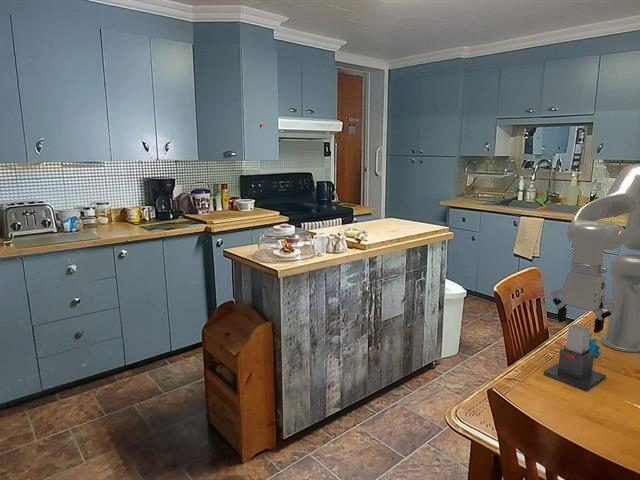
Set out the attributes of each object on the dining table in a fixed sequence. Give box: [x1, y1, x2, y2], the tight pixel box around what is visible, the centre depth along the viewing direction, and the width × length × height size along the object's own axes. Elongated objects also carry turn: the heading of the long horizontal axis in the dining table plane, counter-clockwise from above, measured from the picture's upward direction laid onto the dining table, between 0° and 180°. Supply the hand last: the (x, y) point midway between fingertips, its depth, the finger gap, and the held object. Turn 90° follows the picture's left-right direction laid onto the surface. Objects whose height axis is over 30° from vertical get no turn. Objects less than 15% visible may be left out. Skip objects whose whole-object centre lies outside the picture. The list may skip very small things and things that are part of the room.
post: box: [565, 323, 592, 356], centre depth 128 cm, size 4×4×14 cm
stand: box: [543, 346, 607, 393], centre depth 129 cm, size 12×12×8 cm
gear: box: [588, 333, 602, 358], centre depth 146 cm, size 11×6×10 cm
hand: (579, 326), depth 126 cm, fingers open, 9 cm apart
